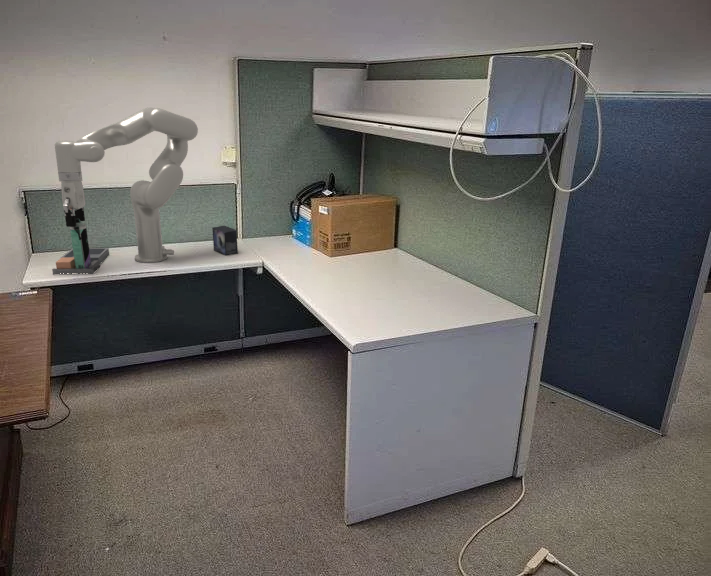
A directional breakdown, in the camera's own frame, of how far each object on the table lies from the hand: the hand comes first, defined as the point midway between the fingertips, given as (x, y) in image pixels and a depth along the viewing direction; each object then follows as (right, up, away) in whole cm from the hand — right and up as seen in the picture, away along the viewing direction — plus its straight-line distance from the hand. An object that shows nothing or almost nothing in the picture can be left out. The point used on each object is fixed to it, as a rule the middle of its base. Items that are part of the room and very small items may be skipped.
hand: (75, 223), depth 203 cm
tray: (-6, -12, +19) cm, 23 cm away
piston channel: (-3, -17, +6) cm, 18 cm away
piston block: (-6, -17, +6) cm, 19 cm away
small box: (+47, -8, +36) cm, 59 cm away
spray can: (0, -17, +6) cm, 18 cm away
